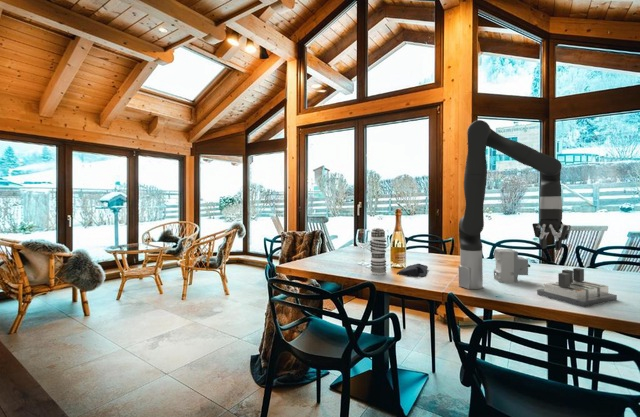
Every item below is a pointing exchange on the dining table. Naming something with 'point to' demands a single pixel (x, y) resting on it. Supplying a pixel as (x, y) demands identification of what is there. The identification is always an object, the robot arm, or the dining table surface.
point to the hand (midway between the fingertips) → (550, 249)
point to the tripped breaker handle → (564, 279)
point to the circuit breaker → (509, 265)
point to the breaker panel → (579, 302)
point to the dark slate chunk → (414, 270)
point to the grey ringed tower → (378, 251)
